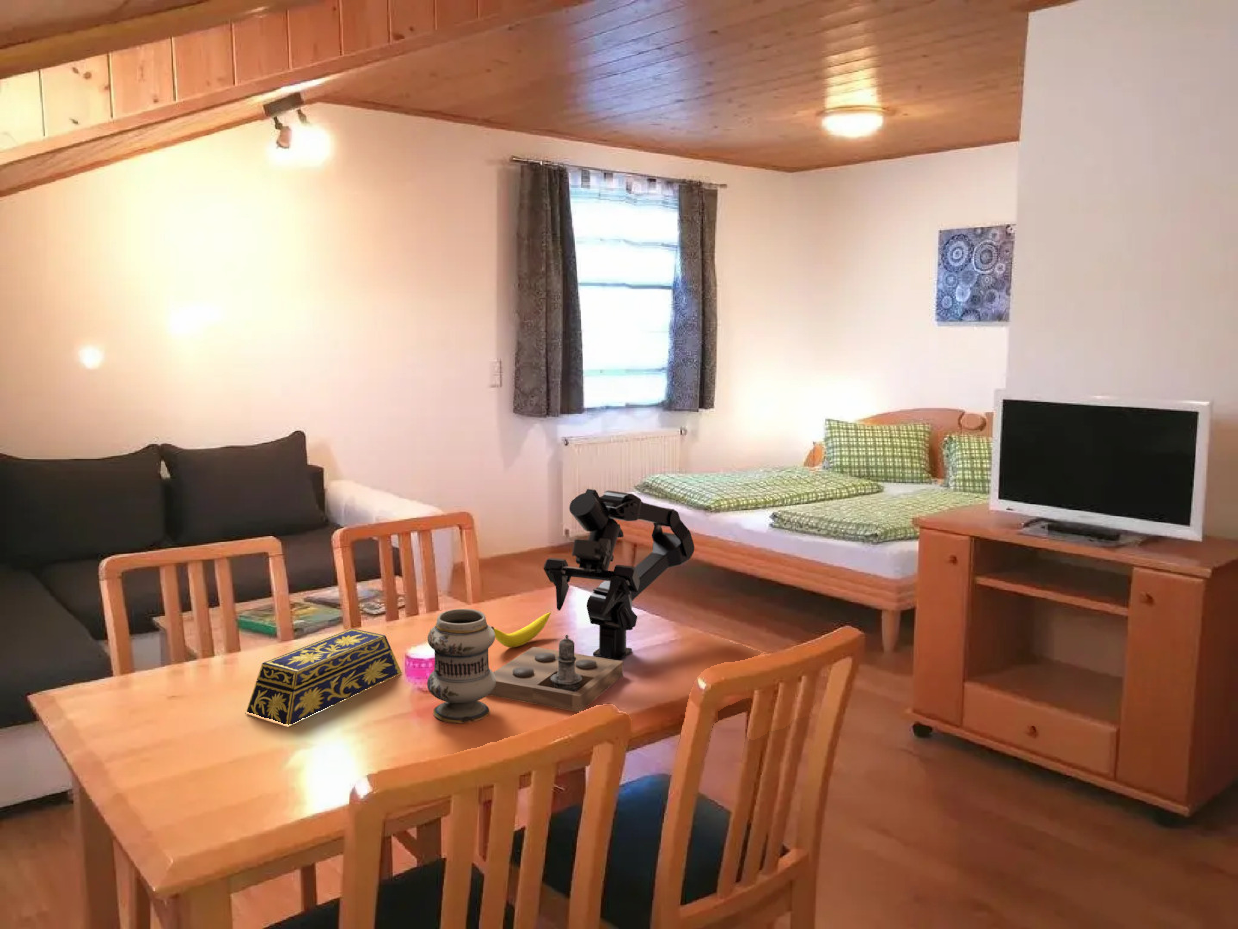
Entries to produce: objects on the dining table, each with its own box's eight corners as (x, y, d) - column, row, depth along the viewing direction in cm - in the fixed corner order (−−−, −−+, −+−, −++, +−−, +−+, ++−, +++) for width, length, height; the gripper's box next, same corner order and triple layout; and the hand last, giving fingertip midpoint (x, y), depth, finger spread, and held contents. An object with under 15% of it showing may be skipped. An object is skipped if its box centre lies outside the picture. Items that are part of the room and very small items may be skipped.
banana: (555, 635, 221) (555, 607, 220) (496, 657, 205) (496, 628, 204) (545, 632, 222) (545, 604, 221) (486, 654, 207) (486, 625, 206)
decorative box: (402, 675, 196) (402, 631, 194) (287, 730, 170) (285, 679, 168) (360, 665, 201) (359, 622, 199) (242, 717, 174) (240, 668, 173)
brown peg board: (533, 660, 204) (533, 644, 203) (622, 675, 196) (623, 658, 196) (483, 694, 186) (483, 675, 185) (579, 712, 178) (580, 693, 177)
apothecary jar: (439, 731, 169) (438, 629, 166) (419, 706, 180) (417, 610, 177) (505, 719, 175) (505, 620, 172) (482, 695, 185) (482, 602, 182)
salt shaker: (571, 704, 181) (571, 641, 180) (544, 698, 184) (544, 636, 182) (587, 694, 186) (588, 633, 185) (561, 688, 189) (562, 627, 187)
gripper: (547, 518, 197) (524, 586, 189) (636, 526, 191) (616, 596, 183) (562, 548, 206) (540, 614, 197) (647, 557, 200) (629, 625, 191)
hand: (580, 612), depth 192 cm, fingers open, 9 cm apart
